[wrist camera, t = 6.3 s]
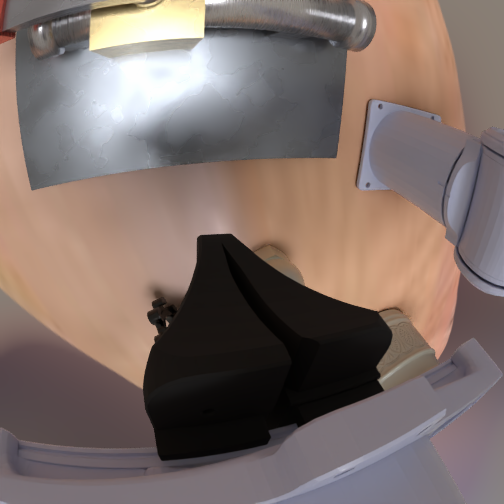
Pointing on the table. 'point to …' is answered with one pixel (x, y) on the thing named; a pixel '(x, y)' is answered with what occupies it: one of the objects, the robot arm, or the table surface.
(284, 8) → the pipe stand
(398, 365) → the jar
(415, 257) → the table surface
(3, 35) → the valve lever
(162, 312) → the valve
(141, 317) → the table surface
